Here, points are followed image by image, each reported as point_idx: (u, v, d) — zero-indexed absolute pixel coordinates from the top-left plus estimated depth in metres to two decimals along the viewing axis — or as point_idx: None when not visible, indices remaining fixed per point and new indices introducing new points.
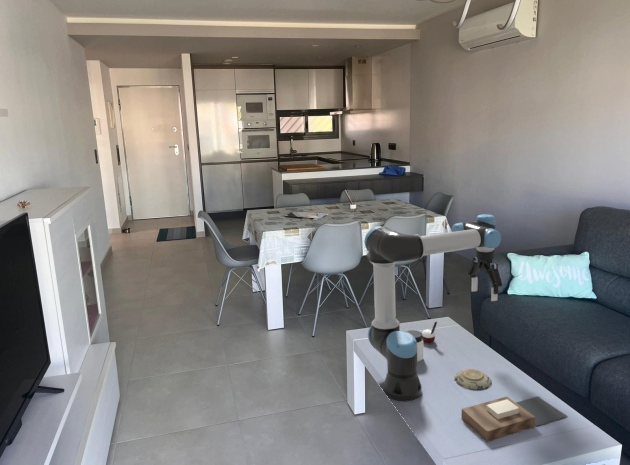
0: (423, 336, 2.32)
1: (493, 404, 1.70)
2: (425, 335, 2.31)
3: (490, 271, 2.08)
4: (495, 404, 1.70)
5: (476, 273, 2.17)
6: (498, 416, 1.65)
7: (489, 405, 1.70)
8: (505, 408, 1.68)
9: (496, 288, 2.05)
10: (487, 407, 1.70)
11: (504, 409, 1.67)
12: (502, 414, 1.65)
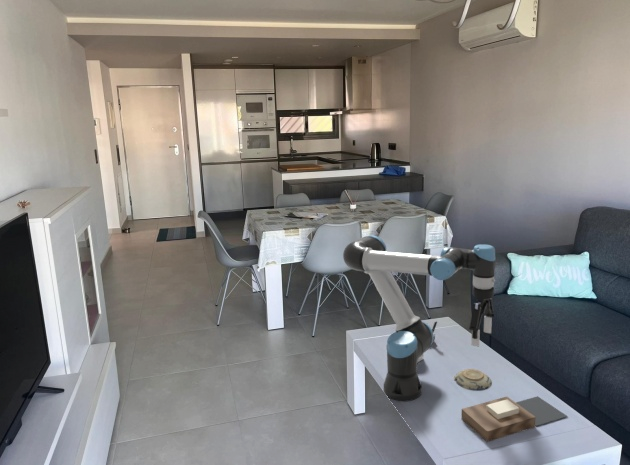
0: None
1: (493, 404, 1.70)
2: None
3: None
4: (495, 404, 1.70)
5: (487, 312, 1.85)
6: (498, 416, 1.65)
7: (489, 405, 1.70)
8: (505, 408, 1.68)
9: (473, 331, 1.75)
10: (487, 407, 1.70)
11: (504, 409, 1.67)
12: (502, 414, 1.65)
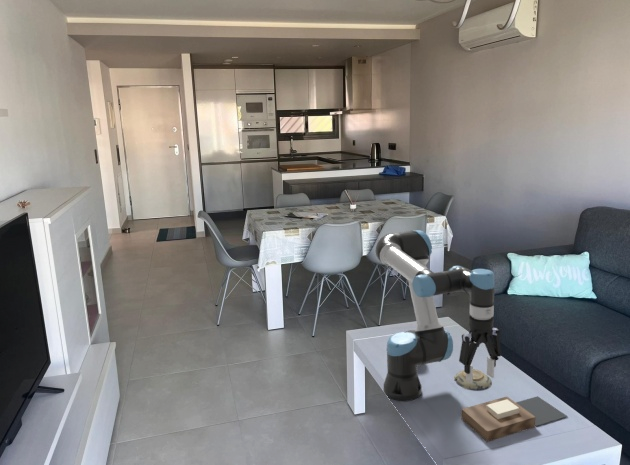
0: None
1: (493, 404, 1.70)
2: None
3: (472, 344, 1.59)
4: (495, 404, 1.70)
5: (489, 351, 1.62)
6: (498, 416, 1.65)
7: (489, 405, 1.70)
8: (505, 408, 1.68)
9: (465, 365, 1.60)
10: (487, 407, 1.70)
11: (504, 409, 1.67)
12: (502, 414, 1.65)
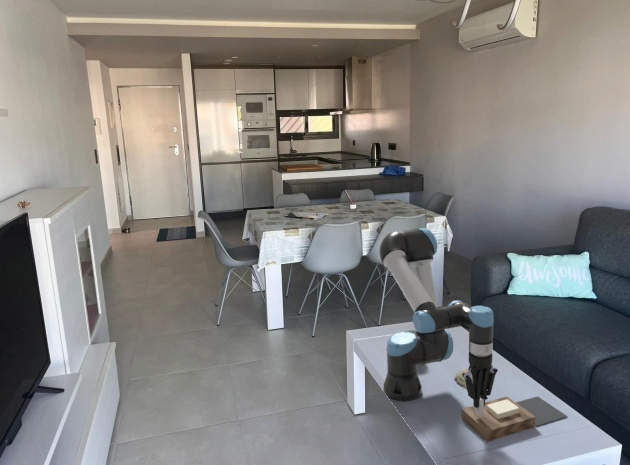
0: None
1: (493, 404, 1.70)
2: None
3: (475, 380, 1.62)
4: (495, 404, 1.70)
5: (481, 388, 1.64)
6: (498, 416, 1.65)
7: (489, 405, 1.70)
8: (505, 408, 1.68)
9: (474, 399, 1.64)
10: (487, 407, 1.70)
11: (504, 409, 1.67)
12: (502, 414, 1.65)
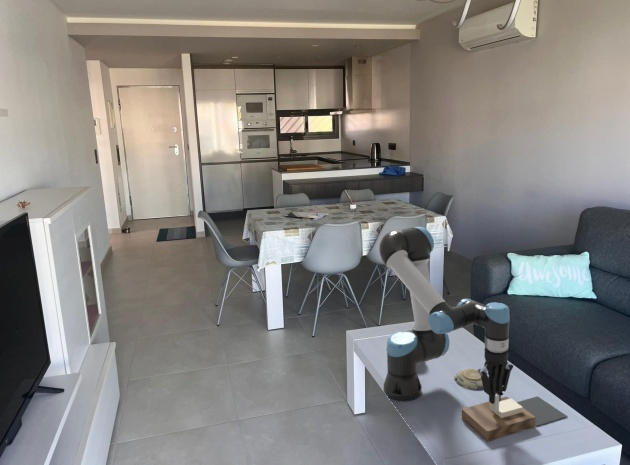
0: None
1: None
2: None
3: (490, 376, 1.64)
4: (499, 403, 1.71)
5: (496, 384, 1.66)
6: (502, 415, 1.65)
7: None
8: (509, 407, 1.68)
9: (490, 395, 1.66)
10: None
11: (508, 408, 1.67)
12: (506, 413, 1.66)
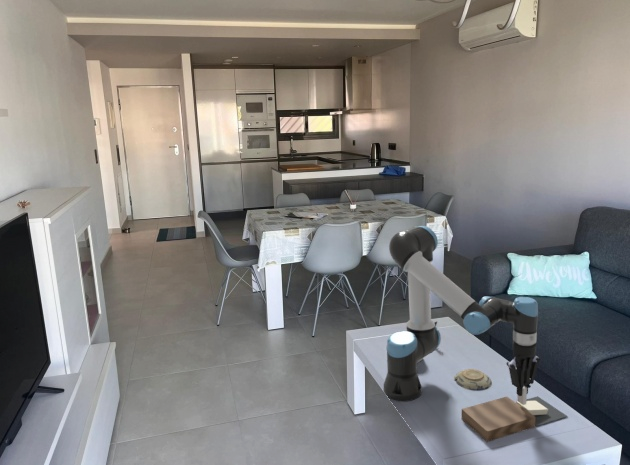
0: None
1: None
2: None
3: (518, 368, 1.68)
4: None
5: (524, 377, 1.69)
6: None
7: None
8: (535, 407, 1.72)
9: (517, 388, 1.70)
10: (517, 403, 1.74)
11: (534, 407, 1.71)
12: (532, 412, 1.70)
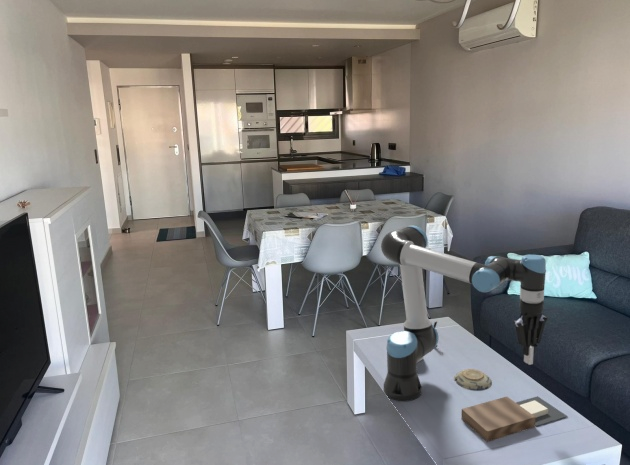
0: None
1: (522, 405, 1.75)
2: None
3: (525, 327, 1.66)
4: (524, 405, 1.75)
5: (531, 336, 1.67)
6: None
7: None
8: (535, 409, 1.72)
9: (524, 347, 1.68)
10: None
11: (534, 410, 1.72)
12: None
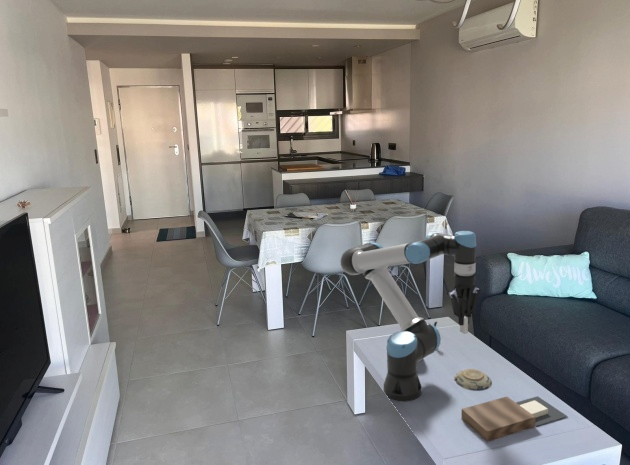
0: None
1: (522, 405, 1.75)
2: None
3: (459, 299, 1.79)
4: (524, 405, 1.75)
5: (465, 307, 1.80)
6: None
7: None
8: (535, 409, 1.72)
9: (459, 318, 1.80)
10: None
11: (534, 410, 1.72)
12: None
